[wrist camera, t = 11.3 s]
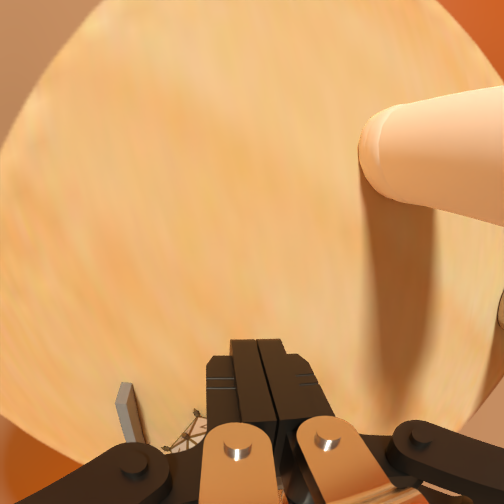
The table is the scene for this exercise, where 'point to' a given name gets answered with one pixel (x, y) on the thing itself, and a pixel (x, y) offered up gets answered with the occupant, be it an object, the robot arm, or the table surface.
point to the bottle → (440, 153)
